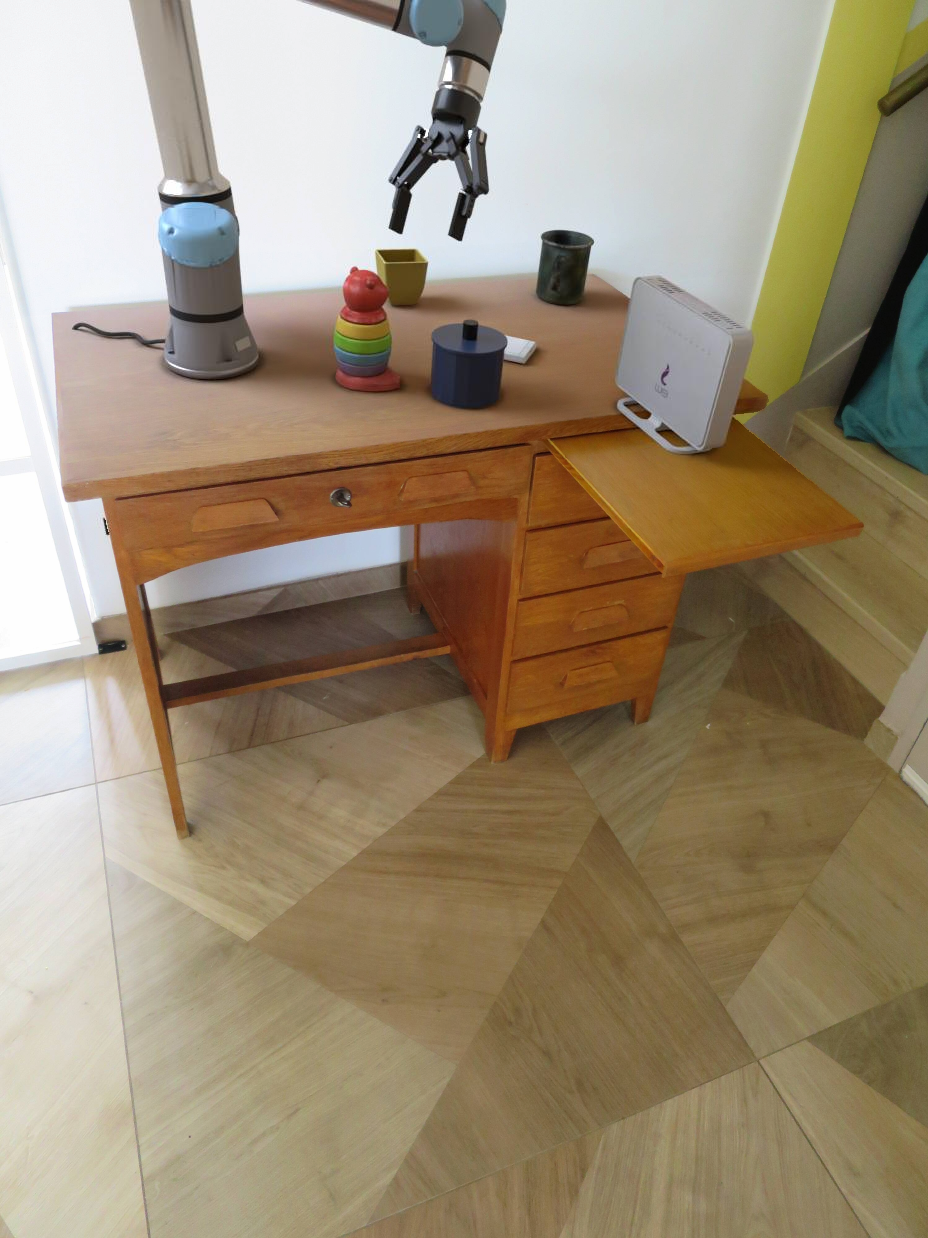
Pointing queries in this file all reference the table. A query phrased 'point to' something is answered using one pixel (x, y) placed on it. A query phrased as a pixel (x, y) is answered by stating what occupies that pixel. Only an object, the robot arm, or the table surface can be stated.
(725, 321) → the network device
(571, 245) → the mug
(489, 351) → the pot lid
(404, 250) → the flower pot
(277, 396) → the table surface
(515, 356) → the hard drive
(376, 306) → the stacking bear
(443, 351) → the pot
